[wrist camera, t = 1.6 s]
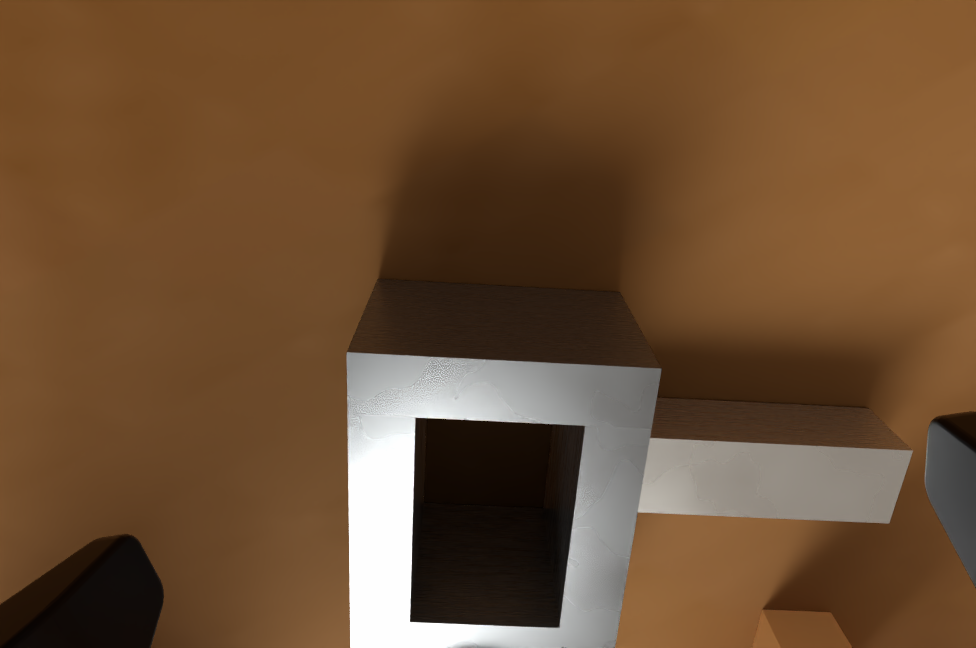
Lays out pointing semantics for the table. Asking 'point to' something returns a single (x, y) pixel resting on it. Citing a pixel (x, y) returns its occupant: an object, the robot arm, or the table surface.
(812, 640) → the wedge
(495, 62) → the table surface
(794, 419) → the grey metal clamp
